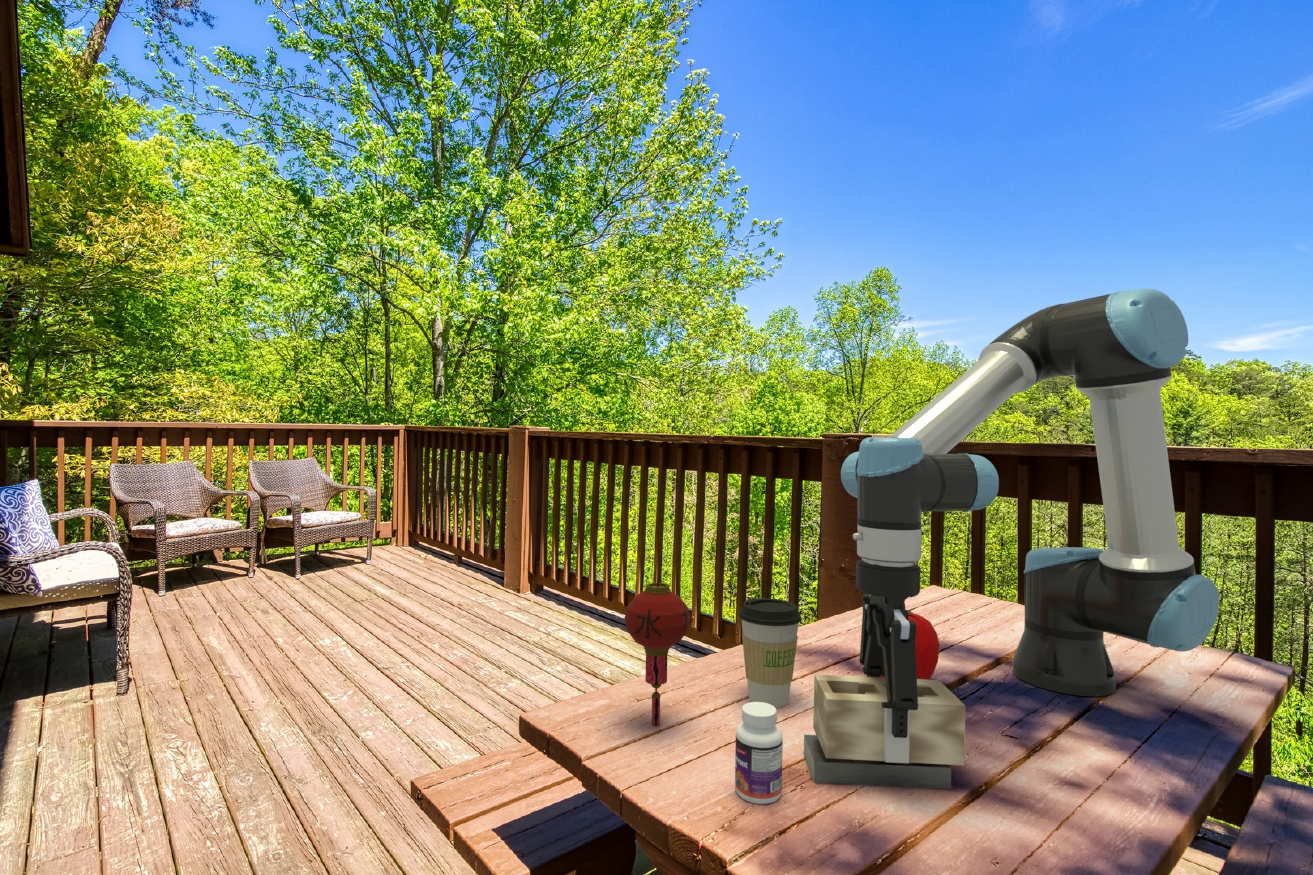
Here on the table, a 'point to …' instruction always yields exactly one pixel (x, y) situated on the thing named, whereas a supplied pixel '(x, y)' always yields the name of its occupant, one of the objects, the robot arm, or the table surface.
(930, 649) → the tomato
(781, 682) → the coffee cup
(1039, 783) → the table surface
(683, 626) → the lantern
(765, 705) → the pill bottle
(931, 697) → the cinder block
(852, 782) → the post rail
